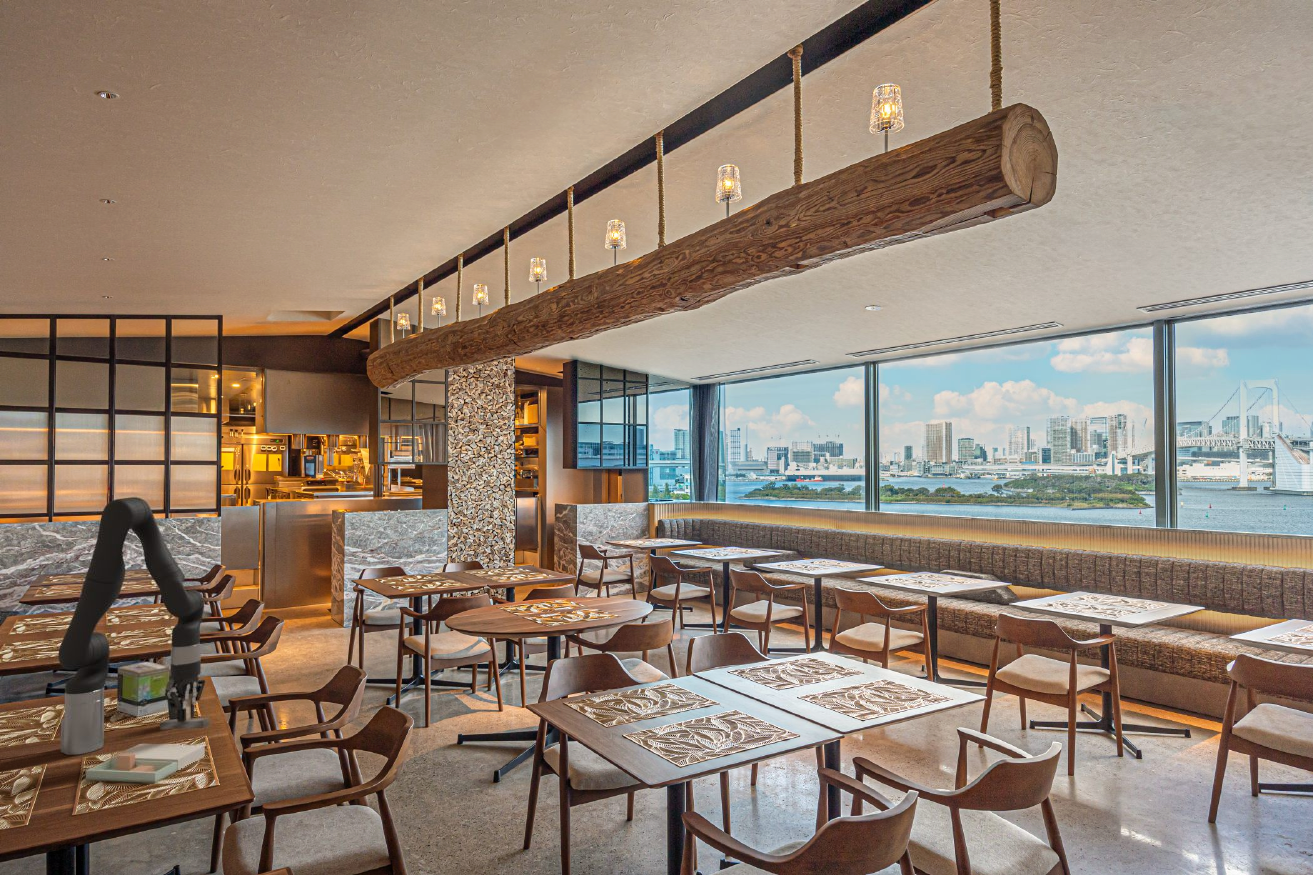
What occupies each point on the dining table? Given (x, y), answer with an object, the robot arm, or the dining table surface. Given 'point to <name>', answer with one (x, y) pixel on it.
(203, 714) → the dining table surface
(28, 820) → the dining table surface
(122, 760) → the tile
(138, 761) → the tray
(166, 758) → the stone plate
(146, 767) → the tile
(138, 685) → the tea box
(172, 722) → the scraper
